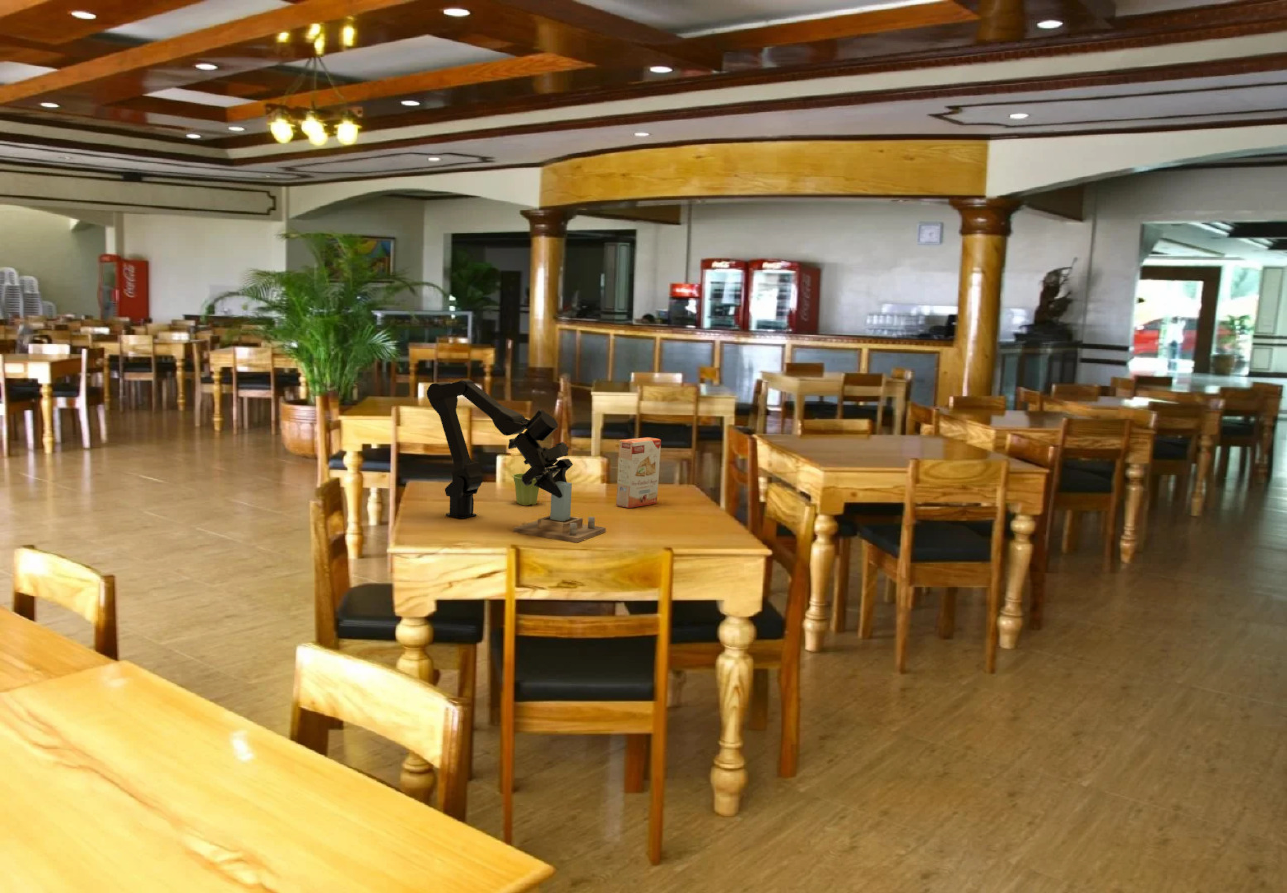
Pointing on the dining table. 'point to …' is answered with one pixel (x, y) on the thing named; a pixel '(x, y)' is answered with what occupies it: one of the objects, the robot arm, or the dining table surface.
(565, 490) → the pale gray block
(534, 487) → the plant pot
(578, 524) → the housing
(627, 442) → the cracker box
